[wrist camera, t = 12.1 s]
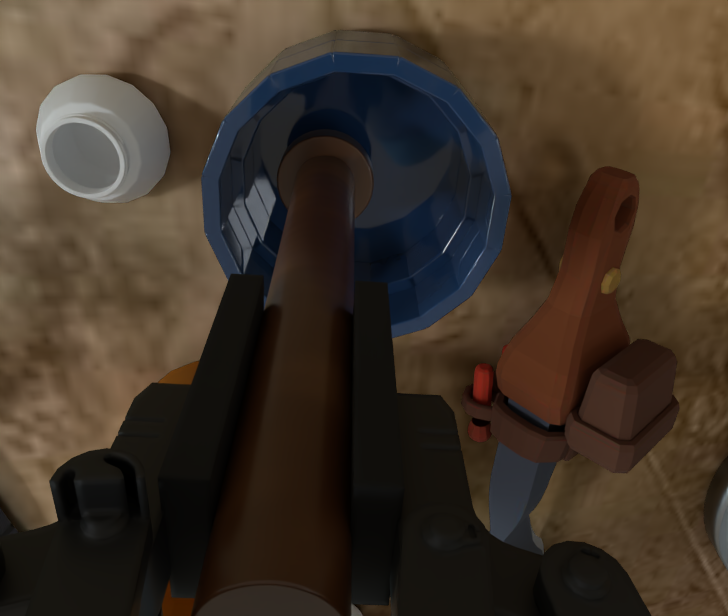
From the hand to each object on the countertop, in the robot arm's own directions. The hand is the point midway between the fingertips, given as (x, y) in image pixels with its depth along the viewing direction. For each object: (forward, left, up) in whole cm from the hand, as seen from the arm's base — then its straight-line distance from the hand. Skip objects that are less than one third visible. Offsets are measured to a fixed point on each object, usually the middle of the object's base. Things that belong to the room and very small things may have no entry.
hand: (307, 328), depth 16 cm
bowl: (-1, 0, -13) cm, 13 cm away
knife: (-11, +18, -13) cm, 24 cm away
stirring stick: (0, 0, -11) cm, 11 cm away
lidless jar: (+9, 0, -13) cm, 16 cm away
